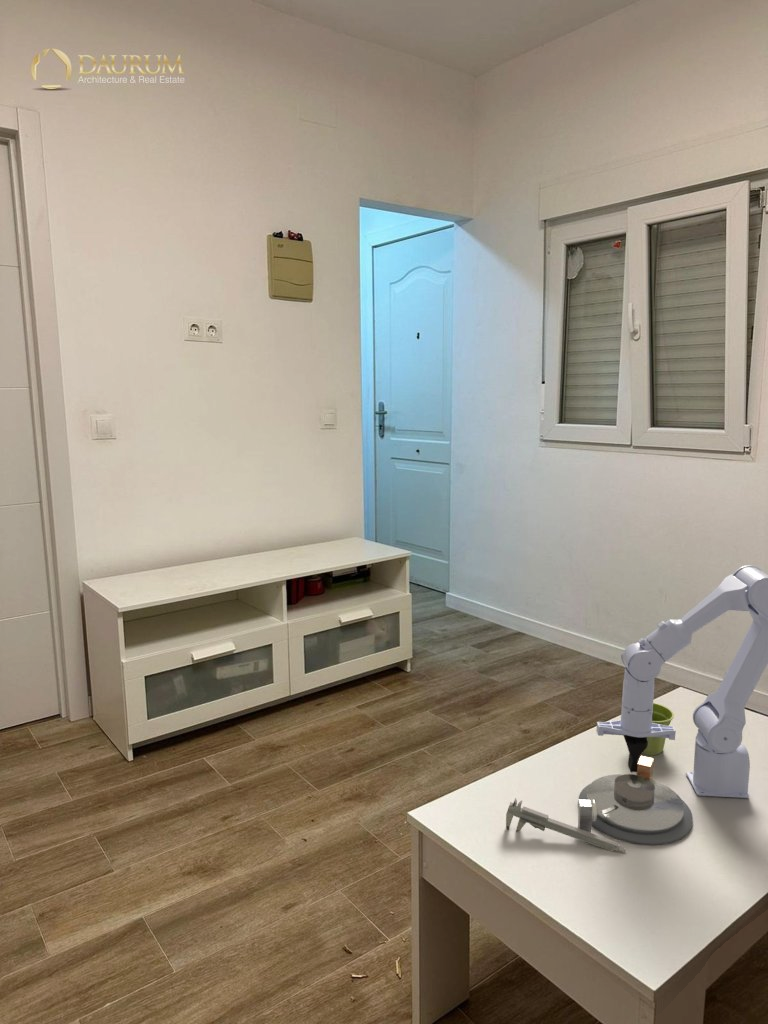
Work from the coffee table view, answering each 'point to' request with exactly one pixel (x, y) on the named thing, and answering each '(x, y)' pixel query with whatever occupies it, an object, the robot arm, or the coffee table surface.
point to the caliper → (556, 827)
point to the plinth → (644, 838)
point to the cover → (634, 792)
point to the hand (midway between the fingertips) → (632, 769)
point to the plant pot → (661, 717)
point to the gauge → (587, 814)
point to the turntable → (649, 821)
